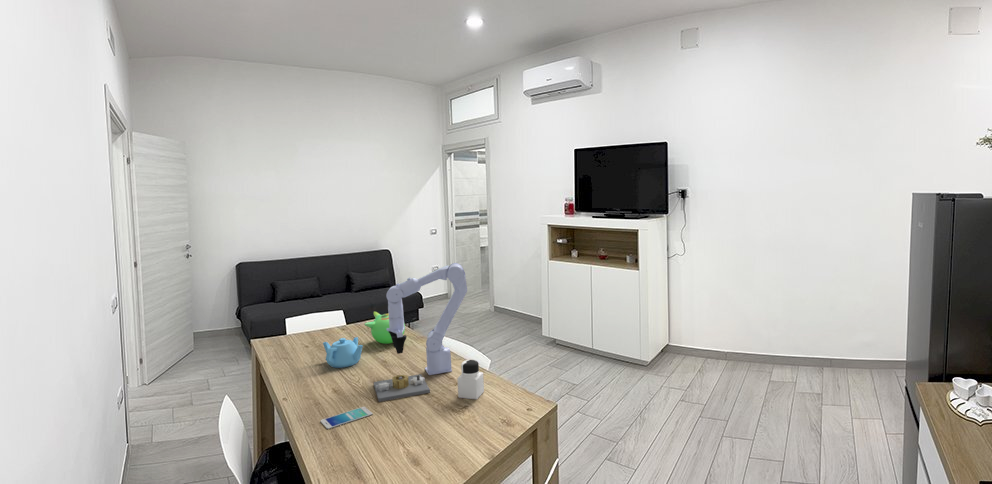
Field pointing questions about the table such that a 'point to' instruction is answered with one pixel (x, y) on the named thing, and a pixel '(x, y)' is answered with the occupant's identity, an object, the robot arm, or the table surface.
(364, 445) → the table surface
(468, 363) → the medicine bottle
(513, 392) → the table surface
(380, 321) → the toy bird
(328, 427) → the smartphone
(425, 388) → the gear board
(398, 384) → the brass gear
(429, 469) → the table surface
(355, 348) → the teapot
